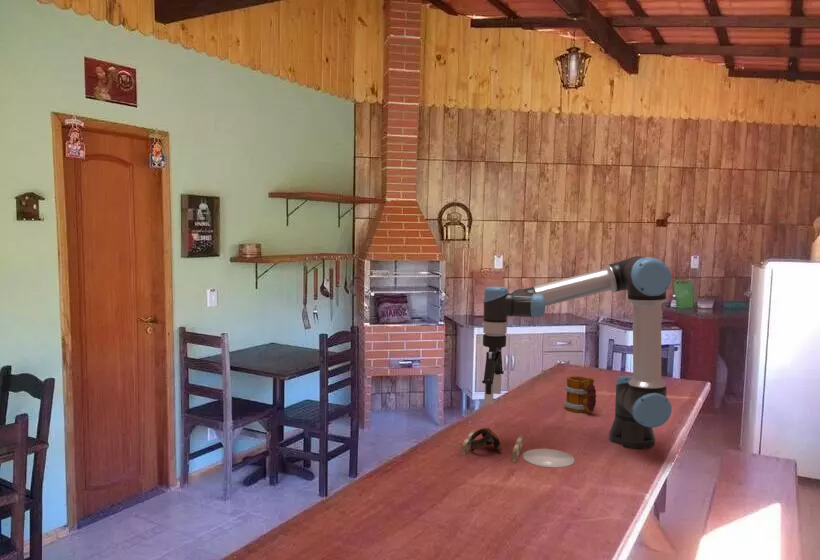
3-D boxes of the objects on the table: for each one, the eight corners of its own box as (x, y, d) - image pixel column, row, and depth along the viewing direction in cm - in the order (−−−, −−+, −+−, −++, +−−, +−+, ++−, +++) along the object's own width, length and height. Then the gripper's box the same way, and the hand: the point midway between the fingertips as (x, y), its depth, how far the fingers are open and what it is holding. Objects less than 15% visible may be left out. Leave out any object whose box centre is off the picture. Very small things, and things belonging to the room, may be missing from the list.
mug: (581, 404, 263) (582, 369, 262) (605, 415, 247) (606, 378, 246) (559, 406, 260) (560, 371, 258) (581, 418, 244) (583, 380, 243)
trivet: (575, 452, 205) (575, 452, 205) (573, 470, 190) (573, 469, 190) (526, 447, 210) (526, 446, 210) (519, 463, 195) (519, 463, 195)
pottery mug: (503, 457, 200) (492, 436, 199) (477, 467, 203) (465, 446, 201) (504, 437, 212) (493, 417, 210) (479, 447, 214) (467, 427, 213)
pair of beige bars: (471, 440, 216) (471, 430, 216) (522, 445, 211) (522, 435, 211) (461, 455, 201) (461, 445, 201) (515, 462, 196) (516, 451, 196)
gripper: (490, 328, 217) (488, 388, 219) (475, 339, 193) (473, 407, 195) (512, 329, 215) (510, 390, 216) (499, 341, 191) (497, 409, 193)
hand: (492, 398), depth 206 cm, fingers open, 13 cm apart
